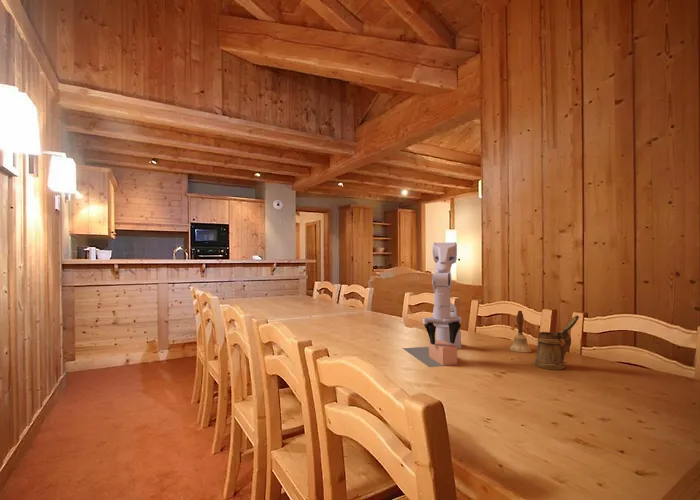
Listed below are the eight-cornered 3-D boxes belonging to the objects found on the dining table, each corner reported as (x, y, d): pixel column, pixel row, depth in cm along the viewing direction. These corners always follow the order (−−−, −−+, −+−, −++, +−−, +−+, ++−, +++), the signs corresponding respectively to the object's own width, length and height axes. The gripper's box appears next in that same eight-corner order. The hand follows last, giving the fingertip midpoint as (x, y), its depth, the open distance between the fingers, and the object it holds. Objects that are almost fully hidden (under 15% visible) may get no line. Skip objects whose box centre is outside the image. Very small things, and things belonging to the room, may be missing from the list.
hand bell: (536, 352, 139) (535, 312, 140) (514, 352, 139) (514, 312, 140) (525, 347, 147) (525, 309, 148) (505, 347, 148) (505, 309, 148)
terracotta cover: (442, 355, 133) (442, 339, 133) (457, 364, 123) (457, 347, 123) (429, 356, 132) (428, 340, 132) (442, 365, 121) (442, 347, 122)
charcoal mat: (428, 347, 147) (428, 346, 147) (460, 366, 122) (460, 364, 122) (402, 349, 145) (402, 348, 145) (429, 368, 120) (429, 366, 120)
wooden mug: (582, 373, 115) (581, 317, 115) (536, 368, 120) (535, 315, 120) (577, 365, 123) (576, 313, 123) (533, 361, 128) (532, 311, 128)
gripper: (428, 307, 122) (428, 347, 122) (466, 306, 125) (466, 344, 125) (419, 305, 129) (420, 342, 129) (456, 304, 132) (456, 340, 132)
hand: (442, 343), depth 127 cm, fingers open, 7 cm apart
